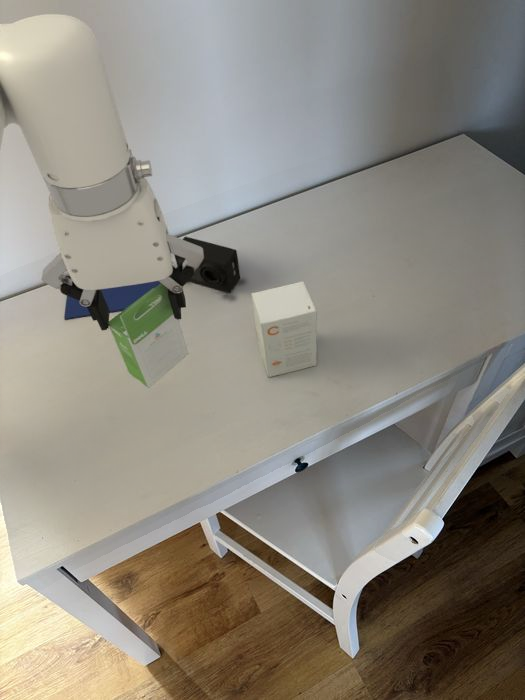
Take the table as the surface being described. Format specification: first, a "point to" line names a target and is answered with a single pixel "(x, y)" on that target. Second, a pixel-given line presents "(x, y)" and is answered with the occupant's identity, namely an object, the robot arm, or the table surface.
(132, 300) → the cloth
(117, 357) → the table surface
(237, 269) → the digital camera
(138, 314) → the ink box
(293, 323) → the small box
